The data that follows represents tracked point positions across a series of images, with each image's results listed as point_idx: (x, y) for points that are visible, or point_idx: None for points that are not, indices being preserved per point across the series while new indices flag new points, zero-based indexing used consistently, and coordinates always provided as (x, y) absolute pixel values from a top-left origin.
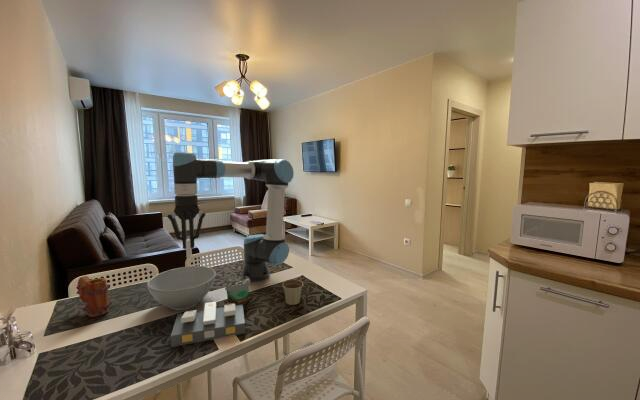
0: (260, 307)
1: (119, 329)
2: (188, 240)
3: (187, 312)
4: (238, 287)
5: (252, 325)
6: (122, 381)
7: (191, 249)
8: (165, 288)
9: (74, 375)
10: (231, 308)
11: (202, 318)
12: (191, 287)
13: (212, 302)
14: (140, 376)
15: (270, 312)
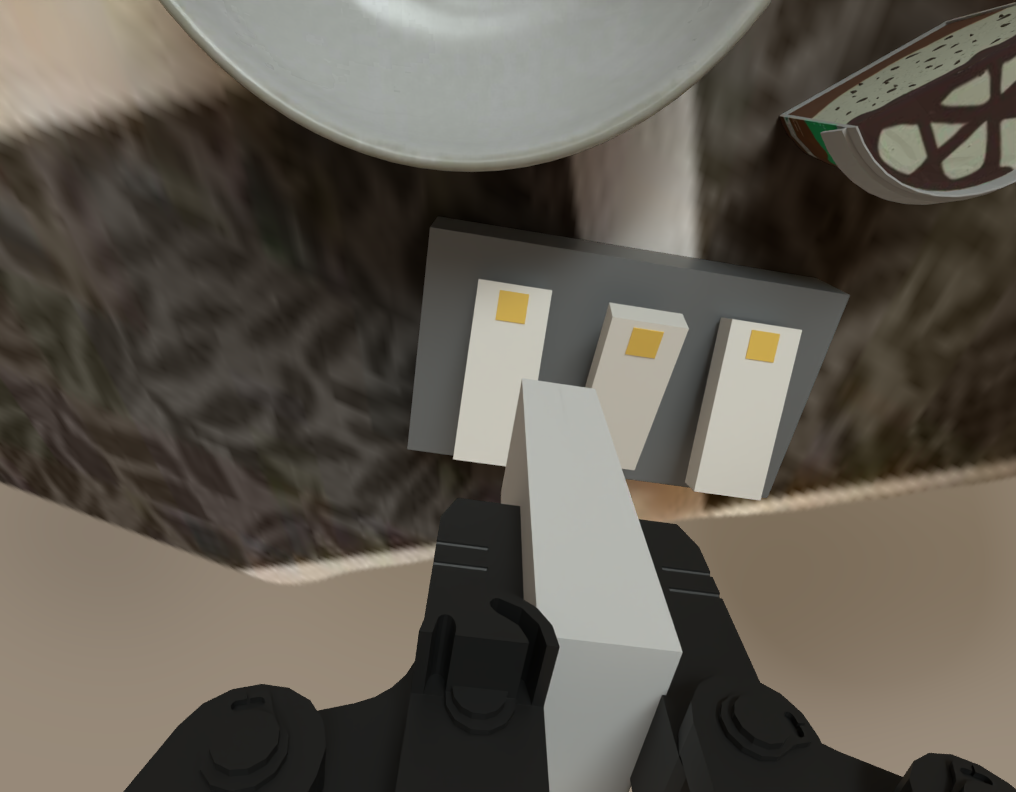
0: (948, 253)
1: (87, 101)
2: (578, 775)
3: (491, 325)
4: (930, 202)
5: (805, 421)
6: (269, 537)
7: (613, 456)
8: None
9: (69, 433)
10: (749, 445)
11: (574, 355)
12: (537, 158)
13: (662, 328)
14: (325, 539)
15: (959, 343)
